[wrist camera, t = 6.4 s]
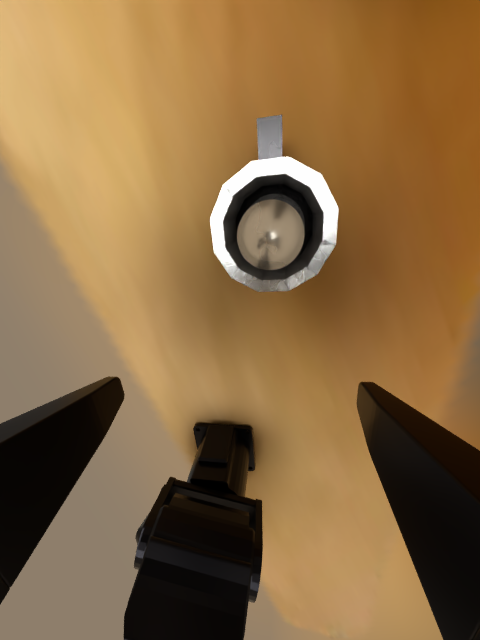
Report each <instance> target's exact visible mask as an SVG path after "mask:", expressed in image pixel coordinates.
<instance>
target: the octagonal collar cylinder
mask: <svg viewBox="0 0 480 640" xmlns="http://www.w3.org/2000/svg"><path fill="white" fill-rule="evenodd" d="M257 134H258V158H259V160H256V161H251V162H250V163H249V164H248V165H246V166H245V167H244V168H243V169H242V170H240V171H239V172H238V173H237V174H236V175H234V176H233V177H232V178H231V179H229V180H228V181H227V182H226V183H225V184H223V186H222V189H221V191H220V194H219V197H218V199H217V202H216V204H215V207H214V209H213V212H212V215H211V217H210V223H211V232H212V241H213V250H214V253H215V255H216V256H217V258H218V259H219V261H220V262H221V264H222V265H223V266H224V268H225V269H226V271H227V272H228V274H229V275H230V277H231V278H232V279H234V280H236V281H238V282H240V283H242V284H244V285H246V286H248V287H250V288H252V289H254V290H256V291H259V292H271V291H290V290H291V289H293V288H295V287H296V286H298V285H300V284H302V283H303V282H305V281H307V280H309V279H310V278H312V277H314V276H315V275H317V274H318V272H319V271H320V269H321V268H322V266H323V264H324V263H325V261H326V260H327V258H328V257H329V255H330V253H331V252H332V250H333V249H334V247H335V245H336V237H337V223H338V206H337V204H336V202H335V200H334V198H333V196H332V194H331V192H330V190H329V188H328V186H327V184H326V182H325V180H324V178H323V176H322V175H321V174H320V173H318V172H316V171H315V170H313V169H311V168H309V167H307V166H305V165H304V164H302V163H300V162H298V161H296V160H294V159H293V158H291V157H282V115H277V116H270V117H264V118H257ZM269 194H282V195H285V196H287V197H289V198H291V199H293V200H294V201H295V202H296V203H297V204H298V206H299V207H300V209H301V211H302V213H303V216H304V221H305V229H304V233H305V235H304V242H303V245H302V248H301V250H300V252H299V254H298V255H297V257H296V258H295V259H294V260H293V261H292V262H291V263H289V264H288V265H286V266H284V267H282V268H280V269H276V270H263V269H259V268H257V267H255V266H253V265H251V264H250V263H249V262H248V261H247V260H246V259H245V258H244V257H243V255H242V253H241V252H240V249H239V246H238V242H237V230H238V226H239V223H240V220H241V219H242V217H243V215H244V214H245V212H246V211H247V210H248V209H249V208H250V206H251V205H252V204H253V203H254V202H255V201H256V200H258V199H259V198H261V197H263V196H266V195H269Z"/></svg>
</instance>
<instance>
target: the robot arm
mask: <svg viewBox="0 0 480 640" xmlns="http://www.w3.org/2000/svg"><path fill="white" fill-rule="evenodd" d="M123 400H124V391H123V387H122V384H121V381H120V379H119V378H118V377H106V378H104V379H102V380H99V381H97V382H95V383H92V384H90V385H88V386H85V387H83V388H81V389H79V390H76V391H74V392H72V393H69V394H67V395H65V396H63V397H60V398H58V399H56V400H53V401H51V402H49V403H47V404H44V405H42V406H40V407H37V408H35V409H33V410H31V411H28V412H26V413H24V414H22V415H19V416H17V417H15V418H12V419H10V420H8V421H6V422H3V423H1V424H0V604H1V602H2V601H3V599H4V598H5V596H6V595H7V593H8V591H9V589H10V587H11V586H12V584H13V583H14V581H15V579H16V578H17V577H18V575H19V573H20V572H21V570H22V568H23V567H24V565H25V564H26V562H27V560H28V559H29V557H30V556H31V554H32V553H33V551H34V549H35V548H36V546H37V545H38V543H39V541H40V540H41V538H42V537H43V535H44V533H45V532H46V530H47V529H48V527H49V525H50V524H51V522H52V520H53V519H54V517H55V516H56V514H57V512H58V511H59V509H60V507H61V506H62V504H63V503H64V501H65V500H66V498H67V496H68V495H69V493H70V492H71V490H72V488H73V487H74V485H75V484H76V482H77V481H78V479H79V477H80V476H81V474H82V472H83V471H84V469H85V468H86V466H87V465H88V463H89V461H90V459H91V458H92V457H93V455H94V453H95V452H96V450H97V449H98V447H99V445H100V444H101V442H102V440H103V439H104V437H105V435H106V433H107V432H108V430H109V428H110V426H111V424H112V422H113V420H114V418H115V416H116V414H117V412H118V410H119V408H120V406H121V404H122V402H123ZM357 409H358V413H359V417H360V420H361V424H362V428H363V431H364V435H365V439H366V442H367V446H368V449H369V452H370V455H371V458H372V461H373V463H374V466H375V468H376V471H377V473H378V476H379V478H380V481H381V483H382V486H383V488H384V491H385V493H386V496H387V498H388V501H389V503H390V506H391V509H392V511H393V514H394V516H395V519H396V521H397V524H398V526H399V529H400V531H401V534H402V536H403V539H404V541H405V544H406V546H407V549H408V551H409V554H410V556H411V559H412V561H413V564H414V566H415V569H416V572H417V574H418V577H419V579H420V582H421V584H422V587H423V589H424V592H425V594H426V597H427V599H428V602H429V604H430V607H431V610H432V612H433V615H434V617H435V620H436V622H437V625H438V627H439V629H440V632H441V635H442V637H443V640H480V451H479V450H478V449H476V448H475V447H473V446H472V445H470V444H468V443H467V442H465V441H464V440H462V439H461V438H459V437H457V436H456V435H454V434H453V433H451V432H450V431H448V430H447V429H445V428H444V427H442V426H440V425H439V424H437V423H436V422H434V421H433V420H431V419H430V418H428V417H426V416H425V415H423V414H422V413H420V412H419V411H417V410H416V409H414V408H412V407H411V406H409V405H408V404H406V403H405V402H403V401H402V400H400V399H398V398H397V397H395V396H394V395H392V394H391V393H389V392H388V391H386V390H384V389H383V388H381V387H380V386H378V385H377V384H375V383H373V382H360V383H359V387H358V395H357ZM193 430H194V435H195V440H196V445H197V450H198V451H197V454H196V456H195V459H194V462H193V465H192V468H191V471H190V474H189V477H188V480H187V482H185V481H180V480H177V479H176V478H173V477H170V478H169V480H168V482H167V484H166V485H164V486H163V488H162V489H161V492H160V494H159V496H158V498H157V500H156V502H155V504H154V505H153V507H152V509H151V511H150V513H149V514H148V516H147V517H146V519H145V520H144V522H143V523H142V524H141V526H140V527H139V529H138V531H137V534H136V541H137V545H138V546H137V551H136V556H135V562H134V568H135V569H138V570H139V571H138V574H137V577H136V580H135V583H134V586H133V589H132V593H131V595H130V598H129V601H128V605H127V608H126V611H125V616H124V640H243V638H244V633H245V624H246V617H247V608H248V601H250V602H255V601H256V597H257V593H258V588H259V582H260V575H261V566H262V550H263V539H262V500H259V499H256V500H254V499H250V498H246V497H245V490H246V482H247V473H248V471H254V470H255V457H254V444H253V431H252V428H251V427H250V426H238V425H220V424H201V423H197V424H195V426H194V428H193Z"/></svg>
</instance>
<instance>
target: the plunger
mask: <svg viewBox="0 0 480 640" xmlns="http://www.w3.org/2000/svg"><path fill="white" fill-rule="evenodd" d="M304 229H305V221H304V216H303V213H302V211H301V209H300V207H299V206H298V204H297V203H296V202H295V201H294V200H293V199H291V198H289V197H287V196H285V195H282V194H269V195H266V196H263V197H261V198H259V199H258V200H256V201H255V202H254V203H253V204H252V205H251V206H250V208H249V209H248V210H247V211H246V212H245V214H244V215H243V217H242V219H241V220H240V223H239V226H238V230H237V242H238V246H239V249H240V252H241V253H242V255H243V257H244V258H245V259H246V260H247V261H248V262H249V263H250V264H251V265H253V266H255V267H257V268H259V269H263V270H276V269H280V268H282V267H284V266H286V265H288V264H289V263H291V262H292V261H293V260H294V259H295V258H296V257H297V255H298V254H299V252H300V250H301V248H302V245H303V242H304V235H305V233H304Z"/></svg>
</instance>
